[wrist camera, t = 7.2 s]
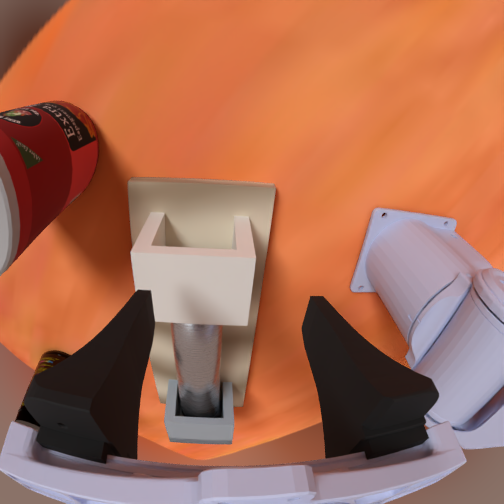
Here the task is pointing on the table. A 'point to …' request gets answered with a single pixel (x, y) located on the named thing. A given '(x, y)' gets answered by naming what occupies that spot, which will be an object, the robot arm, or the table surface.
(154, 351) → the board
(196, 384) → the tube
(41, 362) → the supplement container
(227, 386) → the socket
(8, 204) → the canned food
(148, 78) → the table surface
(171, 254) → the sleeve
